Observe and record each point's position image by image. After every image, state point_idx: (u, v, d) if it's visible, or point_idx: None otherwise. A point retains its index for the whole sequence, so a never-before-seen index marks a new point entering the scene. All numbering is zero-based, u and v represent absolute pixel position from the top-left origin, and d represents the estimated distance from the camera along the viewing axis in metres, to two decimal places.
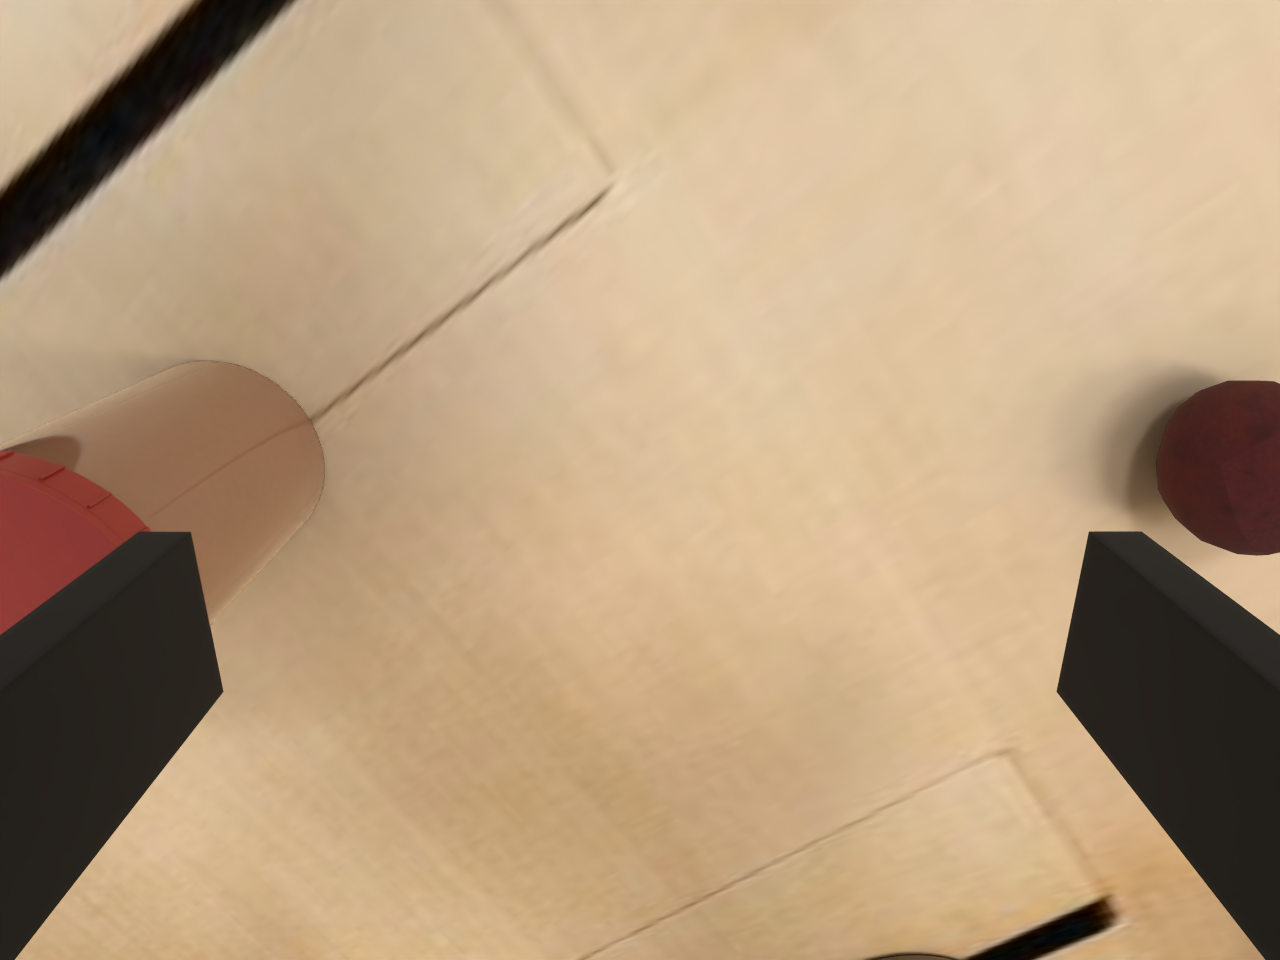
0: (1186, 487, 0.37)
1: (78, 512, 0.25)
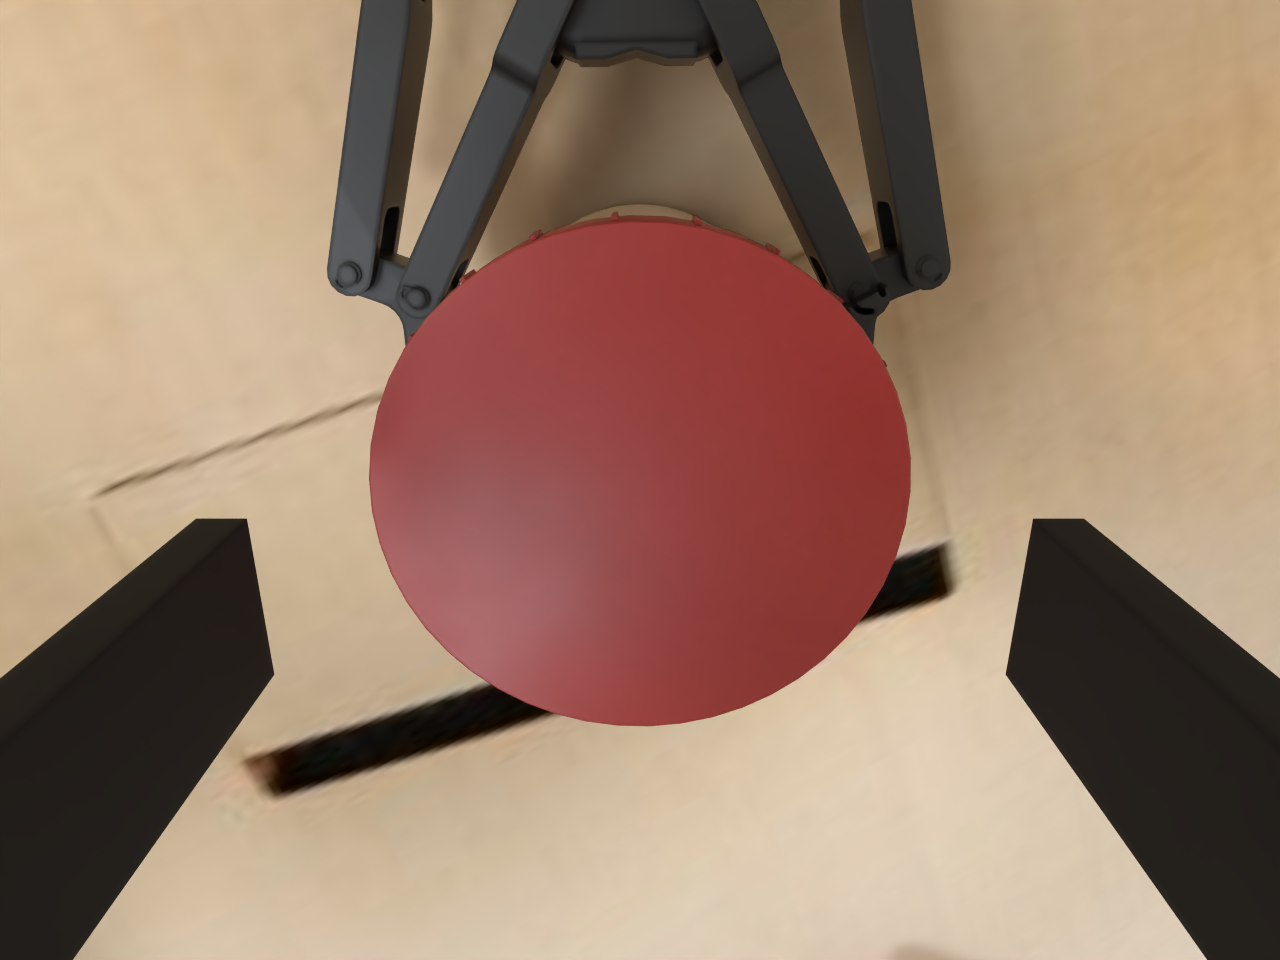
0: None
1: None
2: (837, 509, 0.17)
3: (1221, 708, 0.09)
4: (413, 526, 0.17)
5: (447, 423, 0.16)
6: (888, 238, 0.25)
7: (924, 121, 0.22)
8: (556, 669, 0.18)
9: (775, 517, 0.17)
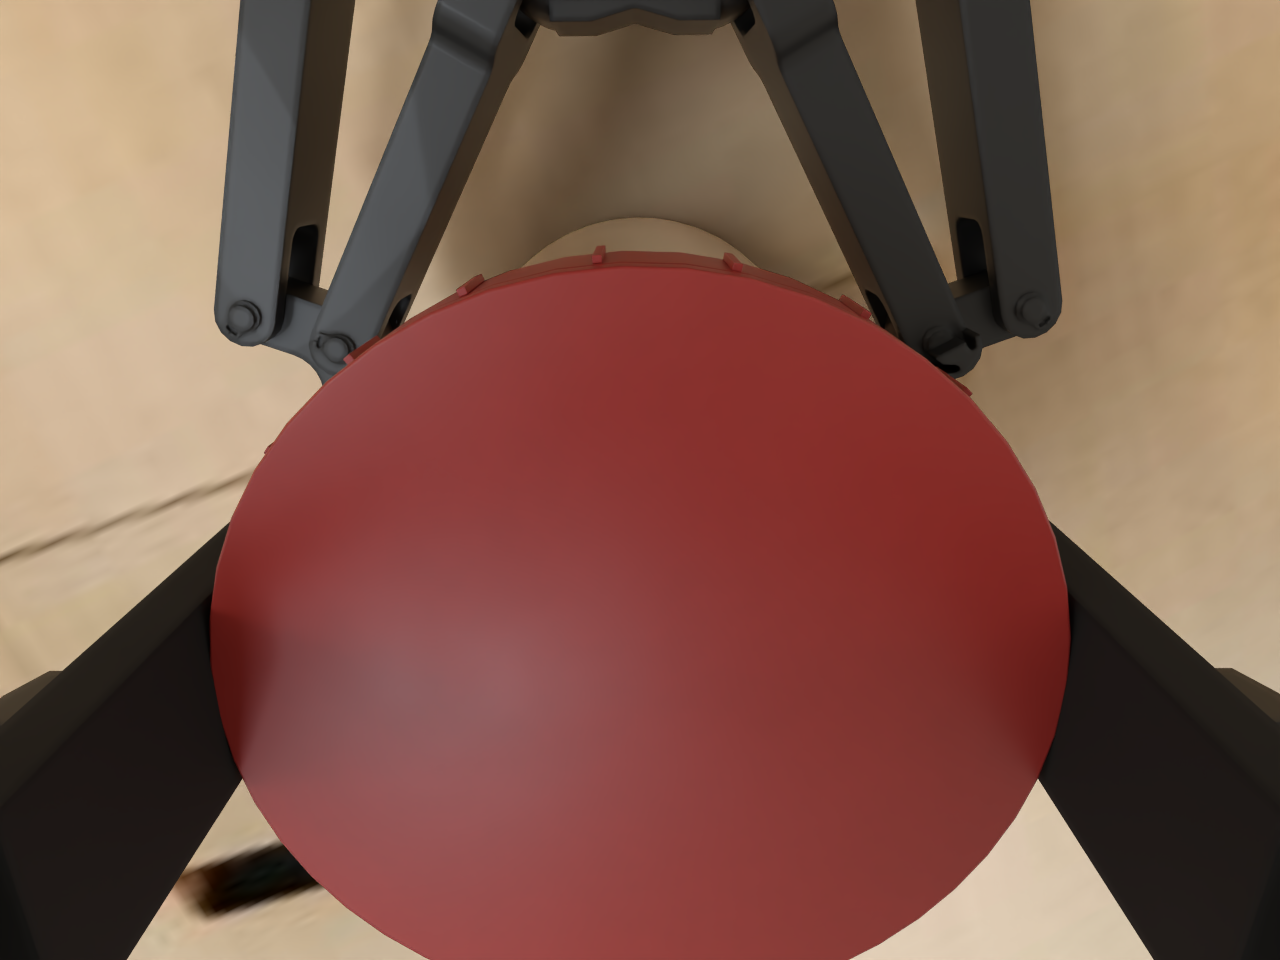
0: None
1: None
2: (950, 712, 0.11)
3: (1146, 686, 0.09)
4: (284, 737, 0.11)
5: (330, 586, 0.10)
6: (970, 266, 0.19)
7: (1034, 108, 0.16)
8: (513, 932, 0.12)
9: (852, 723, 0.11)
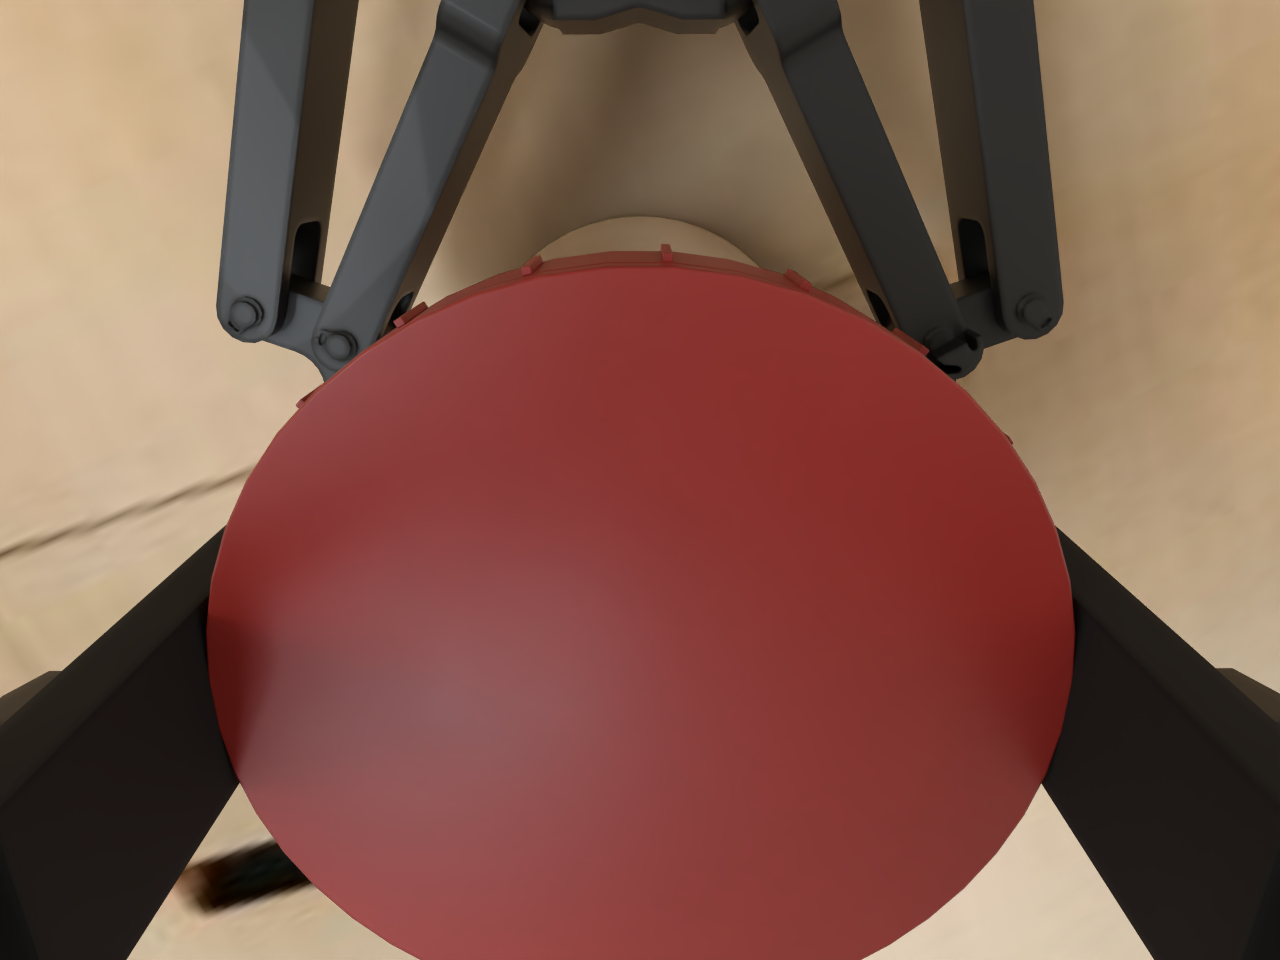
0: None
1: None
2: (552, 410, 0.09)
3: (1146, 687, 0.09)
4: (766, 955, 0.12)
5: (604, 944, 0.12)
6: (971, 267, 0.19)
7: (1037, 110, 0.16)
8: (972, 747, 0.11)
9: (601, 506, 0.10)
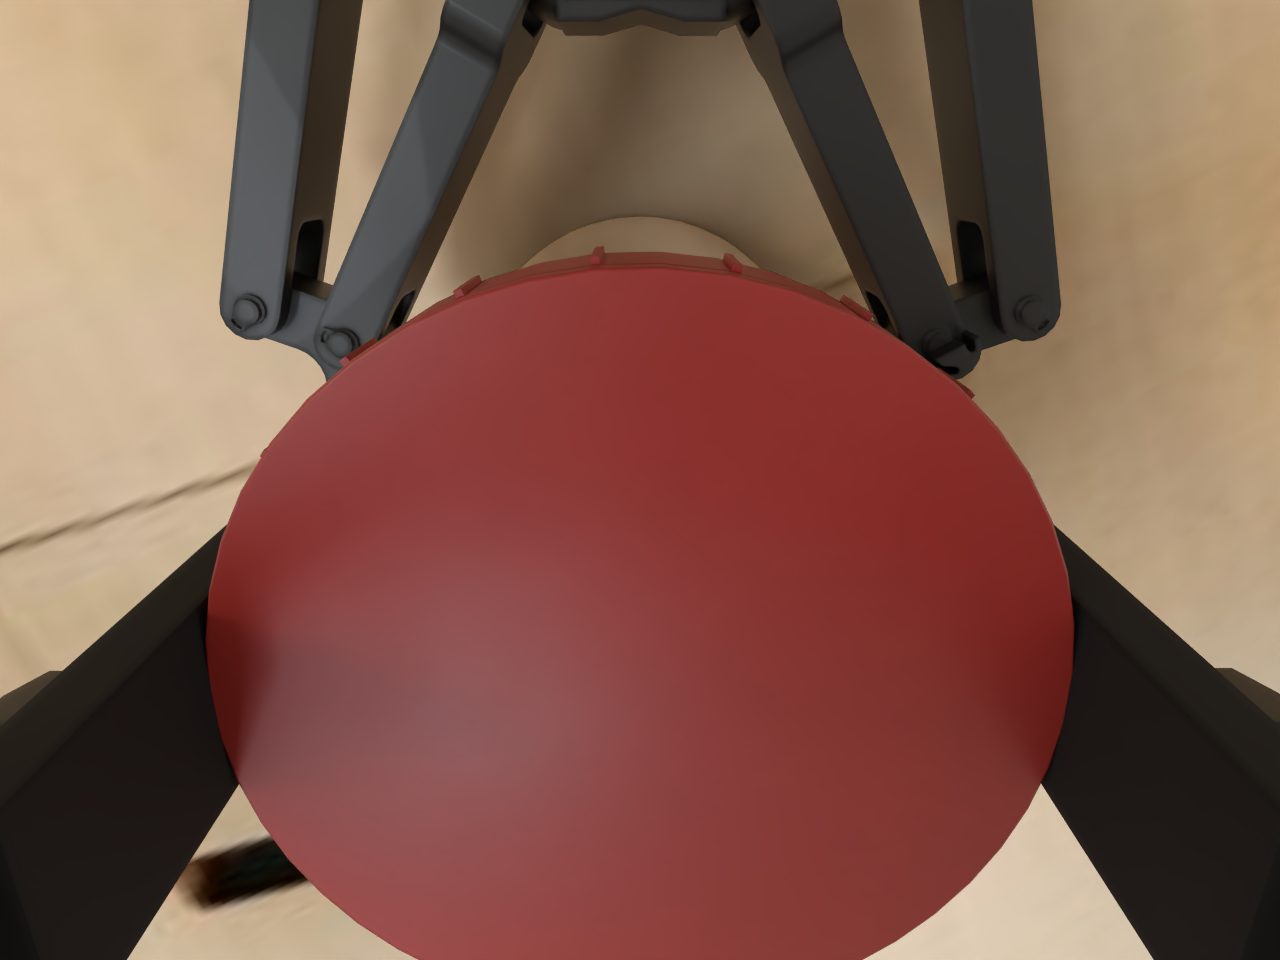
0: None
1: (872, 325, 0.09)
2: (384, 832, 0.11)
3: (1146, 686, 0.09)
4: (953, 489, 0.10)
5: (965, 662, 0.10)
6: (969, 269, 0.19)
7: (1036, 114, 0.16)
8: (584, 374, 0.09)
9: (450, 783, 0.11)
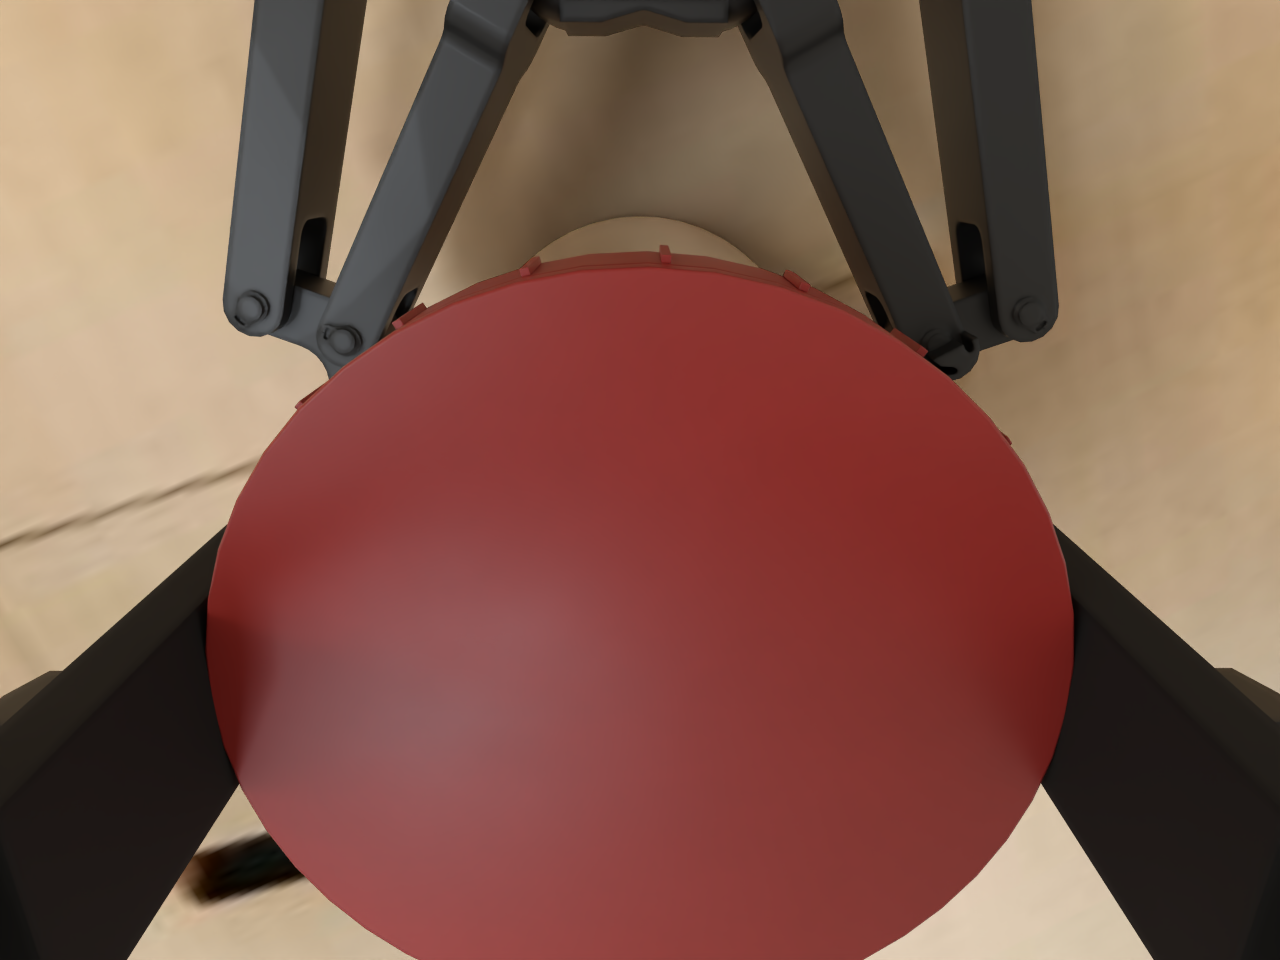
0: None
1: None
2: (851, 873, 0.12)
3: (1145, 686, 0.09)
4: (308, 517, 0.10)
5: (481, 426, 0.09)
6: (969, 270, 0.19)
7: (1034, 116, 0.16)
8: (345, 818, 0.11)
9: (777, 834, 0.11)
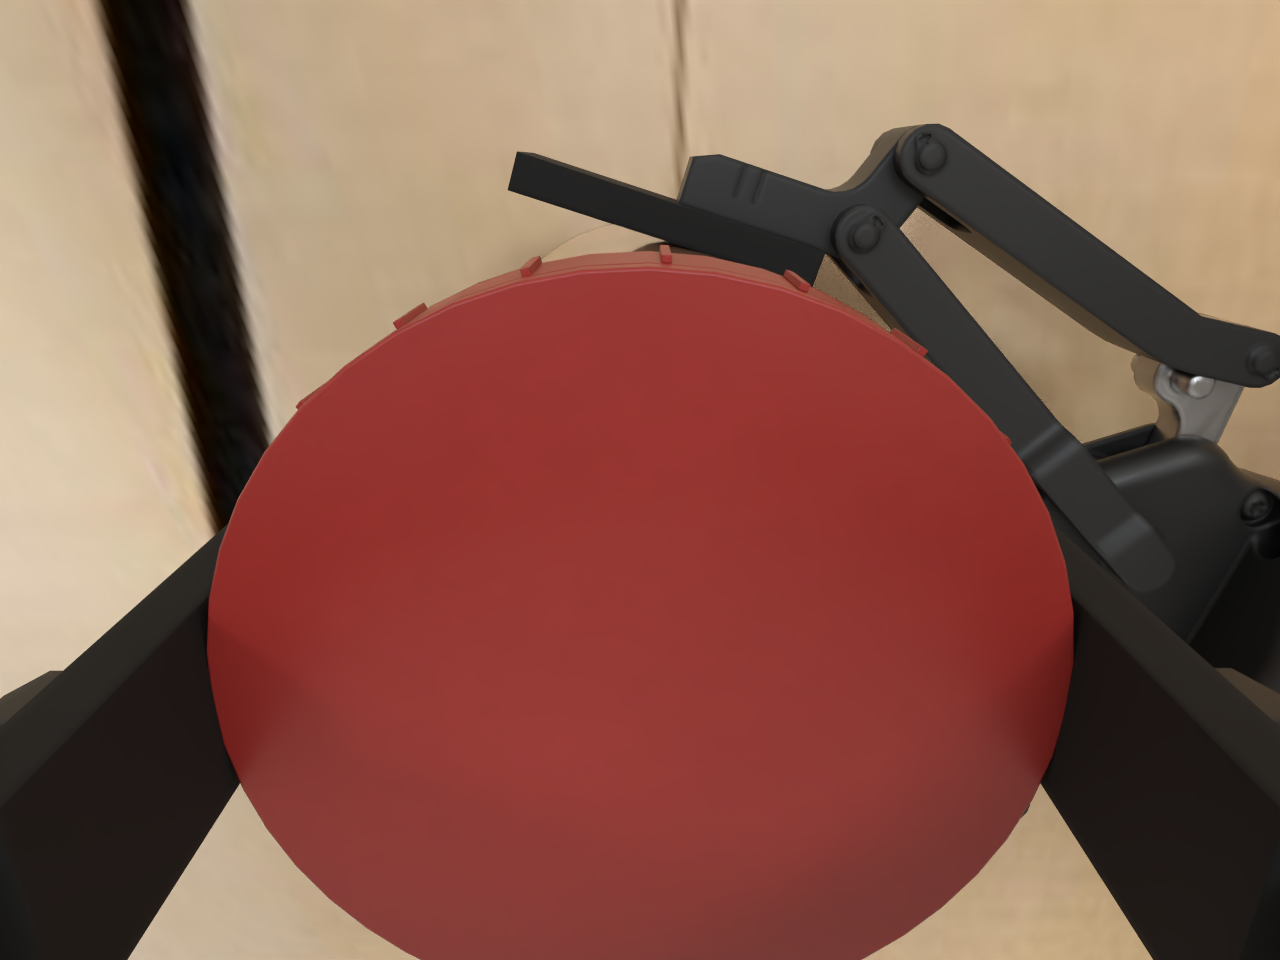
0: None
1: None
2: (851, 872, 0.12)
3: (1144, 686, 0.09)
4: (309, 516, 0.10)
5: (482, 426, 0.09)
6: None
7: None
8: (346, 818, 0.11)
9: (777, 833, 0.11)
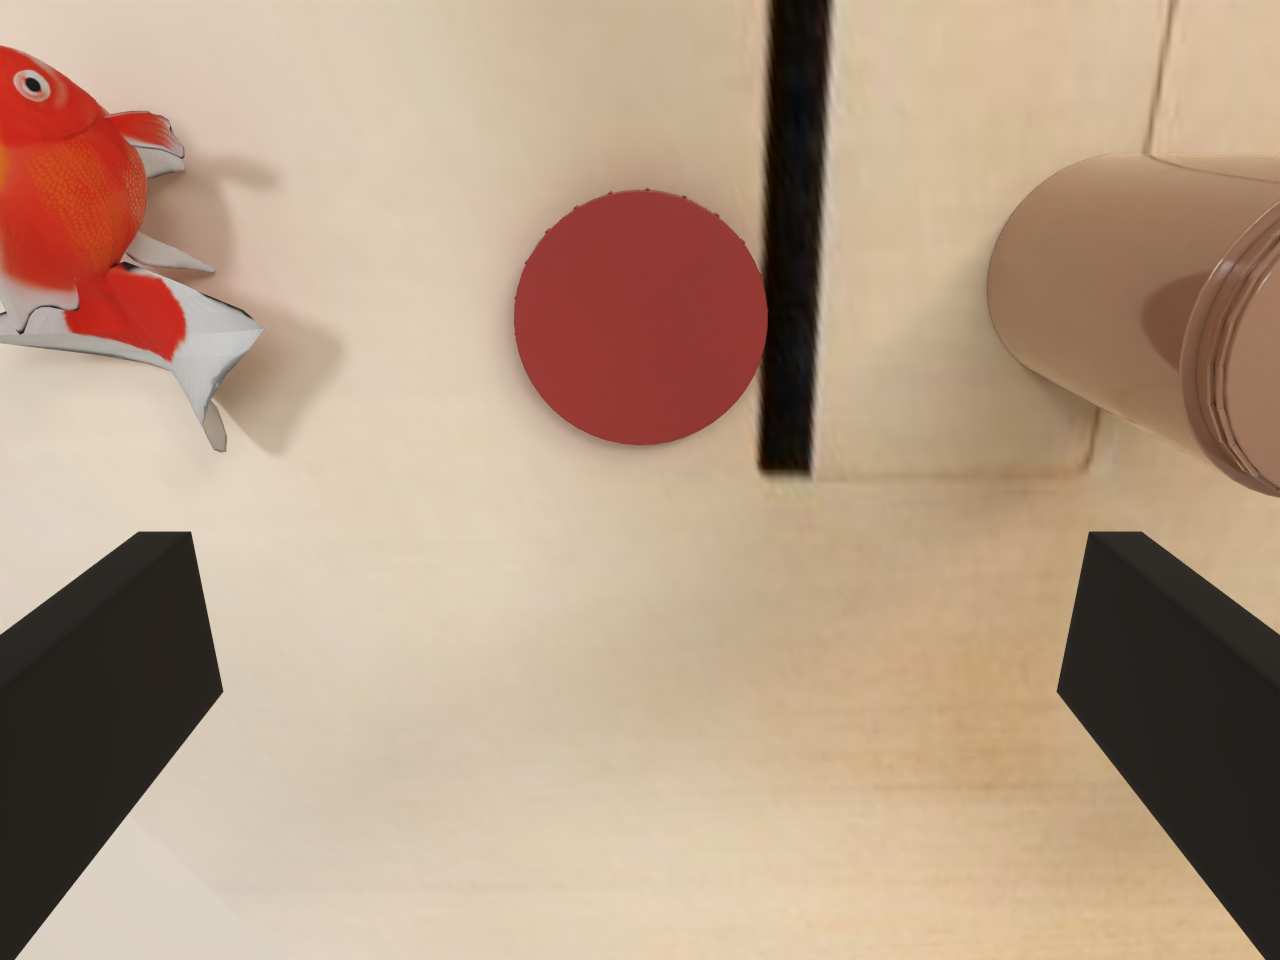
0: None
1: None
2: (707, 386, 0.37)
3: None
4: (548, 262, 0.35)
5: (598, 235, 0.35)
6: None
7: None
8: (550, 365, 0.37)
9: (683, 371, 0.37)
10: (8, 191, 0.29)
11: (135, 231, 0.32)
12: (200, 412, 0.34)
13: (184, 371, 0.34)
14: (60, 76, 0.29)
